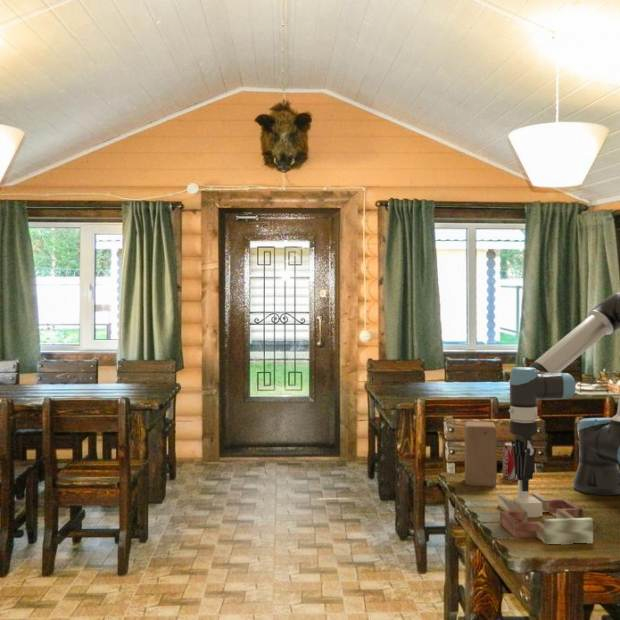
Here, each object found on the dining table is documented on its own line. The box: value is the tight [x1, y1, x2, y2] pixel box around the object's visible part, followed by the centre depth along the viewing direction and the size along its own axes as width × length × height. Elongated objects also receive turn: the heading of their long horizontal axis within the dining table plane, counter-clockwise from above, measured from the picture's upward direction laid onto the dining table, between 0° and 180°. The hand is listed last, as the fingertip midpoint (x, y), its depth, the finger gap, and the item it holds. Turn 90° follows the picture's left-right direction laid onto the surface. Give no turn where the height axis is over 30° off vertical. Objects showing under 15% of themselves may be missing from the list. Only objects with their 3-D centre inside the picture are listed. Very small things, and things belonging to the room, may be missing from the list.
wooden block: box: [464, 420, 498, 488], centre depth 231 cm, size 10×10×20 cm
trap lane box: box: [497, 492, 594, 545], centre depth 188 cm, size 23×34×6 cm
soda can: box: [502, 441, 518, 481], centre depth 236 cm, size 7×7×12 cm
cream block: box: [513, 496, 543, 518], centre depth 197 cm, size 6×6×4 cm
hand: (523, 501), depth 200 cm, fingers closed
